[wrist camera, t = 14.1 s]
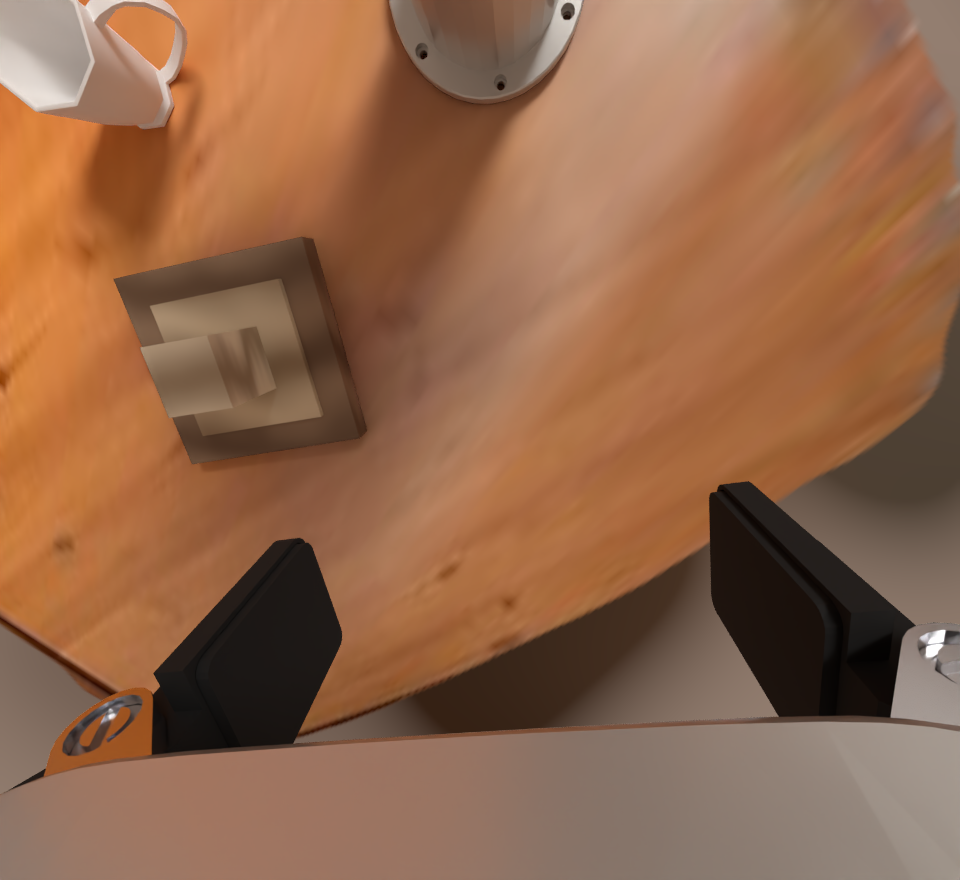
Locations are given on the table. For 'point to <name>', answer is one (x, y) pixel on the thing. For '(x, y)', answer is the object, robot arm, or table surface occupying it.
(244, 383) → the oak block
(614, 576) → the table surface
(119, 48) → the cup
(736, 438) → the table surface
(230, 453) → the base
